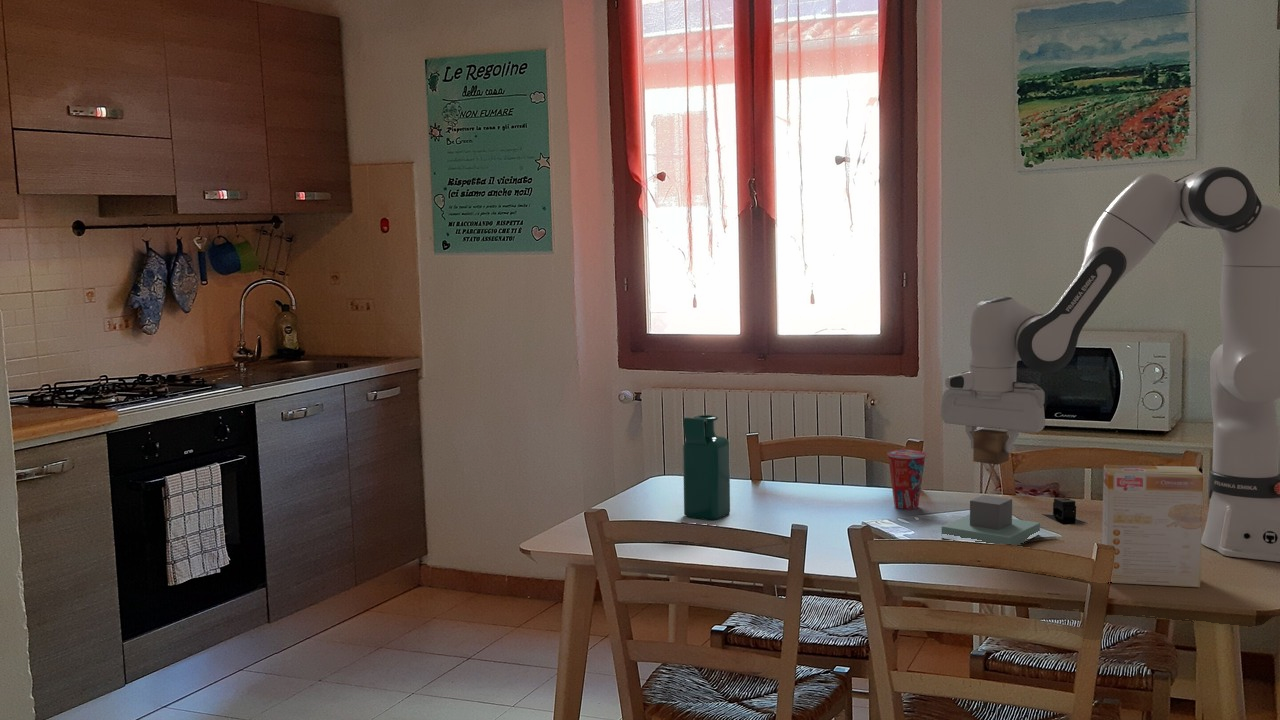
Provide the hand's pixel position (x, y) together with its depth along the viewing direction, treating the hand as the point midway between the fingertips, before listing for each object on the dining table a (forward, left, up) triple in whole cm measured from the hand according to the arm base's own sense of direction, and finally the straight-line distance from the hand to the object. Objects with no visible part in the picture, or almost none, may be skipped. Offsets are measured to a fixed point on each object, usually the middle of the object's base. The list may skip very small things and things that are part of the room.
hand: (991, 450), depth 228 cm
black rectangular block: (-6, -23, -18) cm, 30 cm away
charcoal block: (0, 0, -15) cm, 15 cm away
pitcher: (+56, +20, -18) cm, 62 cm away
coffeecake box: (-34, +10, -18) cm, 39 cm away
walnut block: (0, 0, -2) cm, 2 cm away
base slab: (0, 0, -17) cm, 17 cm away
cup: (+26, -13, -18) cm, 34 cm away
